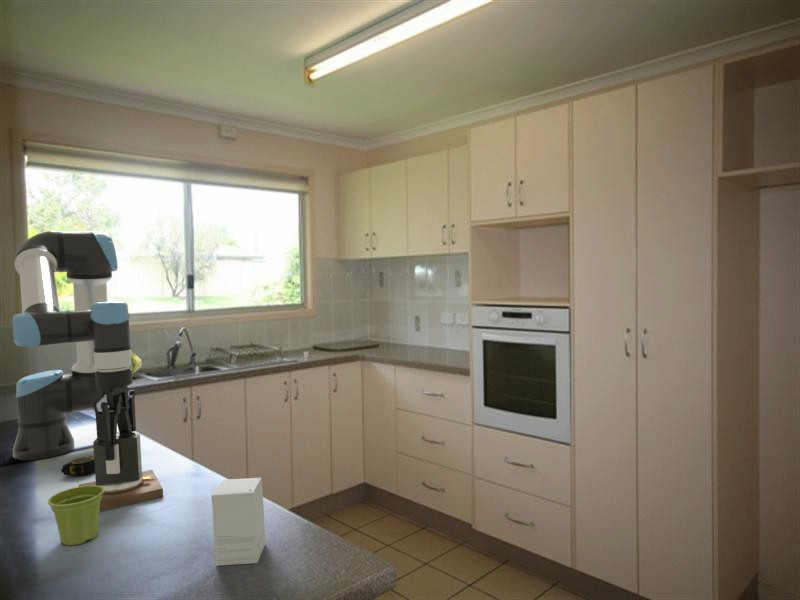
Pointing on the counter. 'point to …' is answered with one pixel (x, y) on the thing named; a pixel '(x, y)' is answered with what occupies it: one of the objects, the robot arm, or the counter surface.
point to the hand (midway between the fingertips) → (119, 468)
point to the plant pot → (77, 513)
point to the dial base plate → (132, 493)
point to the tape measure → (79, 466)
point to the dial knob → (128, 466)
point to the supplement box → (238, 521)
